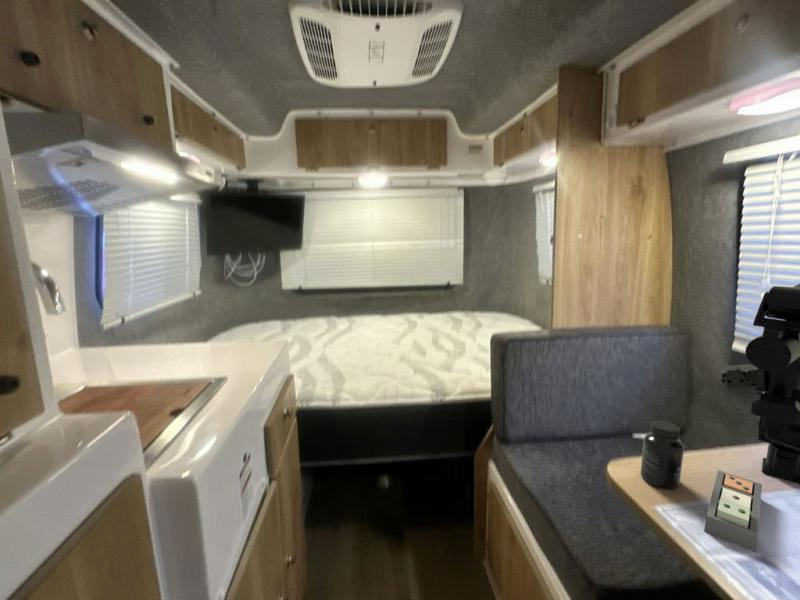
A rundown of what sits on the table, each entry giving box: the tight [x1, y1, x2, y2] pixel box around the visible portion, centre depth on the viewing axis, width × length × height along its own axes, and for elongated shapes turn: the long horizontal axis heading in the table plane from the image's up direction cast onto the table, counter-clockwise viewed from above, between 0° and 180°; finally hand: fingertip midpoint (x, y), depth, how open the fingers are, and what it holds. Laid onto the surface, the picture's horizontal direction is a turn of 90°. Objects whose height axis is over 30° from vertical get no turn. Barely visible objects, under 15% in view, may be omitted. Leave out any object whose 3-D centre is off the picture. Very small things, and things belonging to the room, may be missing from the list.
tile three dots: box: [724, 474, 753, 495], centre depth 76 cm, size 4×4×3 cm
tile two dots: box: [717, 498, 750, 529], centre depth 68 cm, size 4×4×3 cm
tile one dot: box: [721, 488, 751, 508], centre depth 73 cm, size 4×4×3 cm
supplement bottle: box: [640, 420, 685, 490], centre depth 82 cm, size 7×7×12 cm
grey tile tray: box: [704, 470, 763, 552], centre depth 73 cm, size 17×7×3 cm, turn 137°
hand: (771, 437), depth 75 cm, fingers closed
